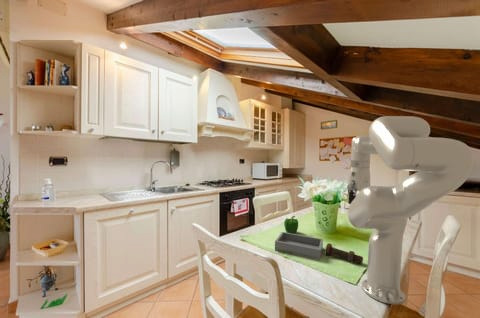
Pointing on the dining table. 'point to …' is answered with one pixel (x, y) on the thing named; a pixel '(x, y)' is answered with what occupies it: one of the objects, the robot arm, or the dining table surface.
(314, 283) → the dining table surface
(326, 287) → the dining table surface
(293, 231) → the bell pepper
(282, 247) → the tray
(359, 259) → the bolt
